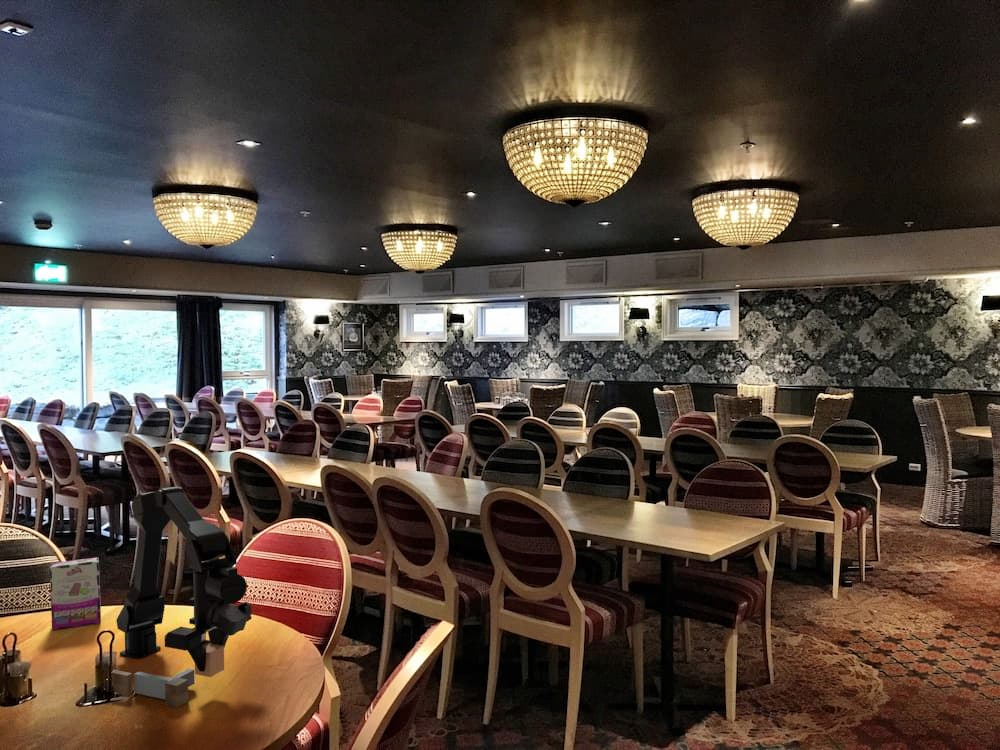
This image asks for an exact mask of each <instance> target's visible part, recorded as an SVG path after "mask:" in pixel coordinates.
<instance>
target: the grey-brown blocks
mask: <svg viewBox="0 0 1000 750" xmlns="http://www.w3.org/2000/svg"><path fill="white" fill-rule="evenodd" d="M111 674H112V675H111V676H112V682H113V686H114V690H115V692H116V693H119V694H120V695H122V696H121V697H124V696H126V697H125V698H128V697H131V696H133V673H131V672H127V671H123V670H118V669H113V671H112V672H111ZM120 695H119V696H120ZM164 701H165V702H164V703H165V706H166V707H171V708H176V709H178V708H180V707H181V706H183V705H186V704H187V703H188V702H189V687H188V680H187V679H182V678H177V677H176V678H174V679H172V680H170V681H169V682H167V683H165V699H164Z"/></svg>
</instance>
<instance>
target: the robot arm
mask: <svg viewBox="0 0 1000 750" xmlns="http://www.w3.org/2000/svg"><path fill="white" fill-rule="evenodd" d="M131 511H132V517H133V519H134V521H135V522H136V524H137V526H138V527H139V531H138V541H137V543H138V544H137V551H136V563H135V564H136V565H135V573H134V584H133V587H132V588H131V589H130V590H129V592H128V593H127V594H126V595H125V599H124V602H123V603H124V604H123V606H122V609H121V610H120V613H119V614H118V616H117V618H116V620H115V621H116V626H117V629H118V630H119V631H121V632H123V633H124V650H122V651H120V652H119V655H120V656H122V657H123V656H124V657H130V658H133V659H142V658H145V657H147V656H149V655H151V654H152V653H155V652H157V651H160V650H161V649H162V647H161V646H160V645H157V632H156V625H162V624H163V620H164V614H165V613H164V612H165V602H166V601H165V600H166V599H165V597H164V596H163V594H162V593H161V592H160V590H159V589H158V580H159V572H160V571H159V569H160V560H161V550H162V542H163V531H164V529H165V528H166V527H167V525H168V524H169V523H170V522H171V521H172V522H173V524H174V525H175V526H176V528H178V530H179V532H180V533H181V534H182V536H183V537H184V539H185V543H184V550H185V551H186V555H187V556H188V558H189V560H190V561H191V563H190V564H189V568H190V569H193V574H192V575H193V576H192V577H193V583H192V585H193V597H191V598H188V604H189V605H193V617H191V618H189V625H194V627H193V628H191V627H185V626H179V627H177V628H175V629H173V630H170V631H168V632H167V633H166V634H165V635H164V647H165V648H170V649H175V650H180V651H187V652H188V654H189V656H190V657H191V659H192V660H193V662H194V665H195V664H196V666H197V668H198V670H199V671H201V672H204V671H205V665H206V647H207V646H208V645H209V643H211V644H217V645H222V646H224V649H225V647H226V644H227V641H228V640H229V636H235V635H236V634H237V633H238V632H241V631H244V630H245V627H246V624H247V622H249V621H251V620H252V613H253V612H252V604H251V603H249V602H248V601H244V602H242V603H240V604H239V605H238V604H236V603H238V602H239V601H240V600H242V599H243V597H245V595H246V592H247V589H248V583H247V581H246V579H245V578H244V576H243V575H242V574H239V573H238V568H237V567H234V566H235V565H237V564H238V562H237V558H236V556H237V555H236V552H235V550H234V548H233V546H232V544H231V542H230V539H229V537H228V535H227V534H226V533H225V531H224V530H223V529H221V528H220V527H219V526H218V525H216V524H214V523H211V522H207V521H206V520H205V519H204V518H203V517H202V515H201V514H200V512H198V510H197V509H196V508H195V507H194V506H193V504H192V503H191V502H190V500H189V499H188V498H187V497H186V495H185V492H184V489H183V487H180V486H177V485H176V486H170V487H163V488H159V489H157V490H155V491H150V492H149V491H148V492H143V493H137V495H135V496H134V498H133V500H132V502H131ZM233 565H234V566H233ZM232 566H233V567H232ZM207 634H208V639H207Z"/></svg>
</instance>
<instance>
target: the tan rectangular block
mask: <svg viewBox="0 0 1000 750" xmlns="http://www.w3.org/2000/svg"><path fill="white" fill-rule="evenodd" d="M224 670H225V648H224V646H222V645H217V644H211V643H209V645H208V646H207V647H206V665H205V671H204V672H201V671H199V670H198V668H197V666H196V664H195V663H194V675H197V676H203V677H209V678H212V677H213V676H215V675H217V674H219V673H221V672H222V671H224Z"/></svg>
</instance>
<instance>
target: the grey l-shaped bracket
mask: <svg viewBox="0 0 1000 750" xmlns="http://www.w3.org/2000/svg"><path fill="white" fill-rule="evenodd" d="M133 676H134V677H133V678H134V694H137V695H143V696H147V697H152V698H157V699H161V700H165V683H167V682H169V681H170V680H172V679H174V678H176V677H177V678H182V679H187V680H188V688H189V687H191V686H193V685H195V668H194V669H193V668H187V669H185V670H183V671H181V672H179V673H178V674H176V675H174V676H172V677H169V676H168V677H167V676H164V675H163V676H162V675H158V674H153V673H147V672H143V671H137V672H135V673H134V674H133Z"/></svg>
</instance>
